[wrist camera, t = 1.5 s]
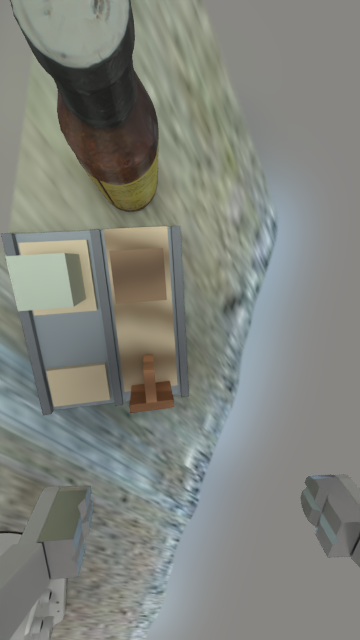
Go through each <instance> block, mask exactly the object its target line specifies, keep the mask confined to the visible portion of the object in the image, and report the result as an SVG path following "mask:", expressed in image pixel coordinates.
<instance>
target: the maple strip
mask: <svg viewBox="0 0 360 640" xmlns="http://www.w3.org/2000/svg"><path fill="white" fill-rule="evenodd" d="M104 237H105V245H106V252H107V260H108V268H109V276H110V283H111V291H112V299H113V307H114V314H115V322H116V330H117V338H118V345H119V353H120V361H121V369H122V376H123V384H124V392H128V391H131V396H130V405H129V406H130V413H134V412H142V411H149V410H157V409H164V408H172V407H174V399H173V394H172V389H171V386H176V385H178V383H177V368H176V352H175V337H174V322H173V306H172V291H171V276H170V261H169V245H168V230H167V226H162V227H138V228H115V229H104ZM150 248H163V252H164V266H165V280H166V294H167V300H159V301H147V302H134V303H121V304H116V301H115V293H114V285H113V277H112V269H111V261H110V253H109V251H112V250H131V249H150Z"/></svg>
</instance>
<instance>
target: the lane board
mask: <svg viewBox="0 0 360 640" xmlns="http://www.w3.org/2000/svg"><path fill="white" fill-rule="evenodd" d="M167 230H168V245H169V261H170V276H171V291H172V306H173V322H174V337H175V352H176V368H177V383H178V385H176V386H171V389H172V394H173V395H178V394H181V396H182V397H188V396H189V385H188V366H187V347H186V328H185V309H184V289H183V270H182V251H181V232H180V226H171V227H167ZM1 237H2V241H3V245H4V249H5V254H6V256H19V255H38V254H57V253H70V254H79V257H80V263H81V269H82V276H83V282H84V288H85V295H86V299H85V300H83V301H82V302H80V303H79V304H77V305H76V306H74V307H66V308H54V309H41V310H28V311H19V314H20V318H21V323H22V327H23V331H24V335H25V340H26V344H27V348H28V353H29V357H30V361H31V365H32V370H33V374H34V378H35V383H36V387H37V391H38V396H39V400H40V404H41V408H42V413H43V415H48V414H52V412H53V411H54V410H60V409H68V408H76V407H84V406H92V405H99V404H107V403H115V406H118V405H123V401H130V396H131V391H128V392H124V384H123V376H122V369H121V361H120V353H119V345H118V338H117V330H116V322H115V314H114V307H113V299H112V291H111V283H110V276H109V268H108V260H107V252H106V245H105V237H104V230H99V229H96V230H90V231H71V232H47V233H24V234H13V233H4V234H3V233H2V234H1Z"/></svg>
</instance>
